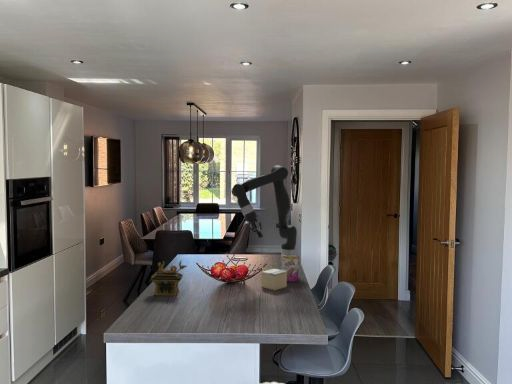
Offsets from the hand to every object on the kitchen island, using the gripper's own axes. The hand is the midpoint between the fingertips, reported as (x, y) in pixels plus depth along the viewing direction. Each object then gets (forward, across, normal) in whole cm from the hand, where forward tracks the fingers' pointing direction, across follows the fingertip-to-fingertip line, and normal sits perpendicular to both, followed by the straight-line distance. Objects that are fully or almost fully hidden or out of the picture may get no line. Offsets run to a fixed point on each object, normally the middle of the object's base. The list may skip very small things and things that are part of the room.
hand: (261, 237), depth 297 cm
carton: (+31, -7, +4) cm, 32 cm away
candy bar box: (+32, +13, +3) cm, 35 cm away
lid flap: (+23, -7, -1) cm, 24 cm away
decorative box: (+7, -51, +42) cm, 67 cm away
